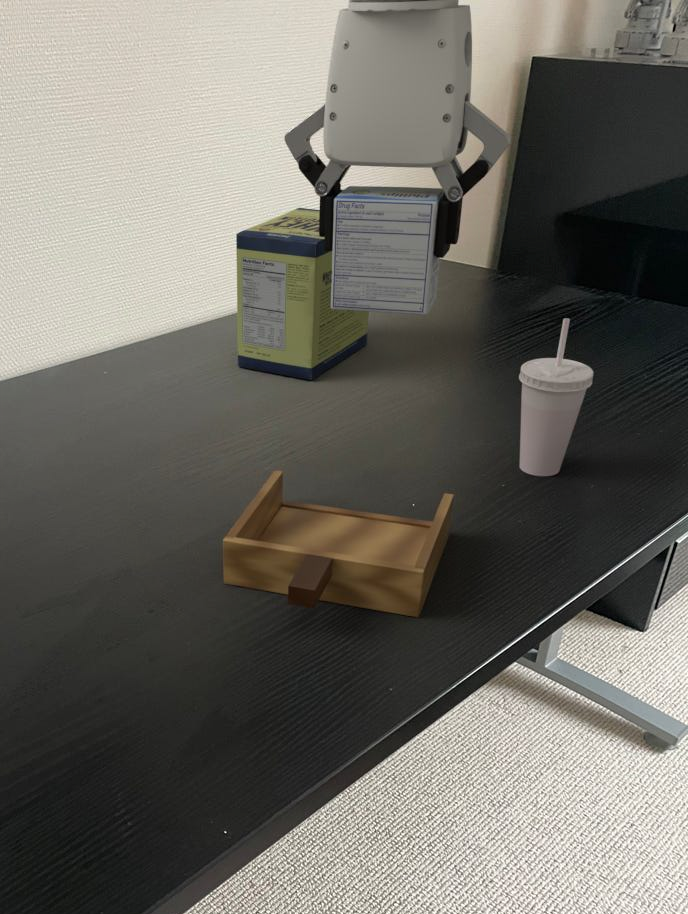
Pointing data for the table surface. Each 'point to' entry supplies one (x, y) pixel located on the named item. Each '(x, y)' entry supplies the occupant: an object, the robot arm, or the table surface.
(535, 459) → the smoothie
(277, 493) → the wooden drawer
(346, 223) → the medicine box
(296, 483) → the table surface
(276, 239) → the protein box
